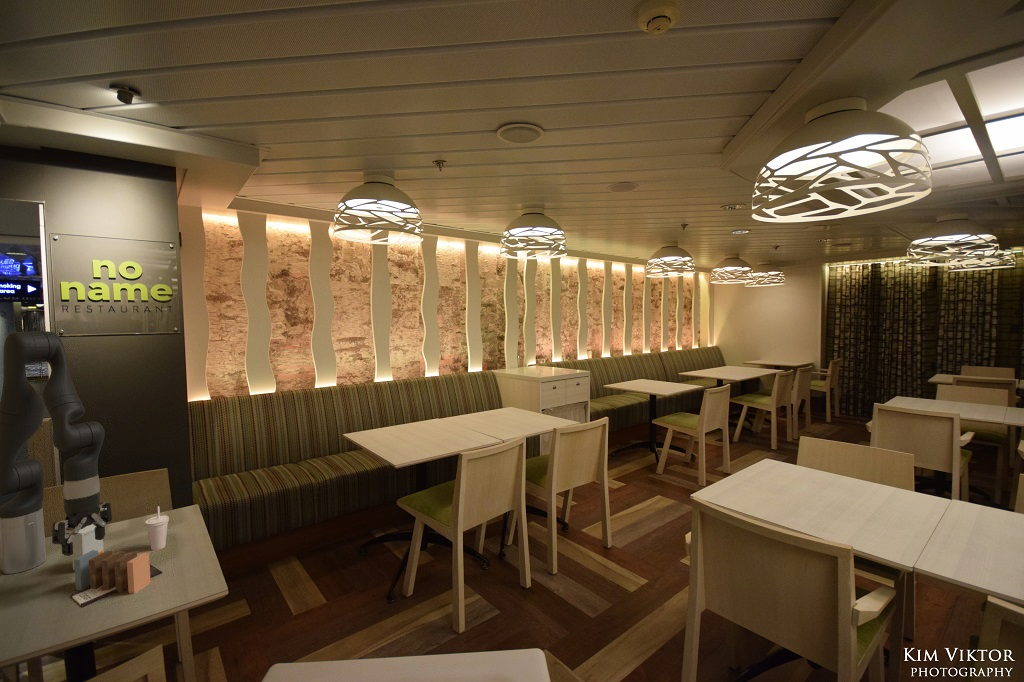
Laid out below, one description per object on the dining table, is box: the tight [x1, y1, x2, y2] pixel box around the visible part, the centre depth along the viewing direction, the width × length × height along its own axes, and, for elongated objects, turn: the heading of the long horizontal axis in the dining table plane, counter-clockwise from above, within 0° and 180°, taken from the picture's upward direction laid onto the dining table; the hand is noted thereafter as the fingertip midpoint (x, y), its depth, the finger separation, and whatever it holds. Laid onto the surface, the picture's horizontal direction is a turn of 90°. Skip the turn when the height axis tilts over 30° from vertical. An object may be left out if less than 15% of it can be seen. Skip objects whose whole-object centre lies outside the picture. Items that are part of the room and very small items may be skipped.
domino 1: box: [74, 550, 98, 591], centre depth 129 cm, size 2×5×9 cm, turn 174°
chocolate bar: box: [70, 564, 163, 608], centre depth 129 cm, size 9×1×18 cm
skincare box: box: [71, 524, 105, 571], centre depth 139 cm, size 6×4×12 cm
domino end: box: [127, 552, 152, 595], centre depth 127 cm, size 2×5×9 cm, turn 175°
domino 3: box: [102, 550, 126, 590], centre depth 128 cm, size 2×5×9 cm, turn 175°
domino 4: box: [114, 551, 138, 593], centre depth 128 cm, size 2×5×9 cm, turn 174°
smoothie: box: [144, 505, 170, 551], centre depth 149 cm, size 6×6×14 cm
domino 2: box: [89, 550, 113, 589], centre depth 129 cm, size 2×5×9 cm, turn 174°
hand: (84, 547), depth 128 cm, fingers open, 8 cm apart
